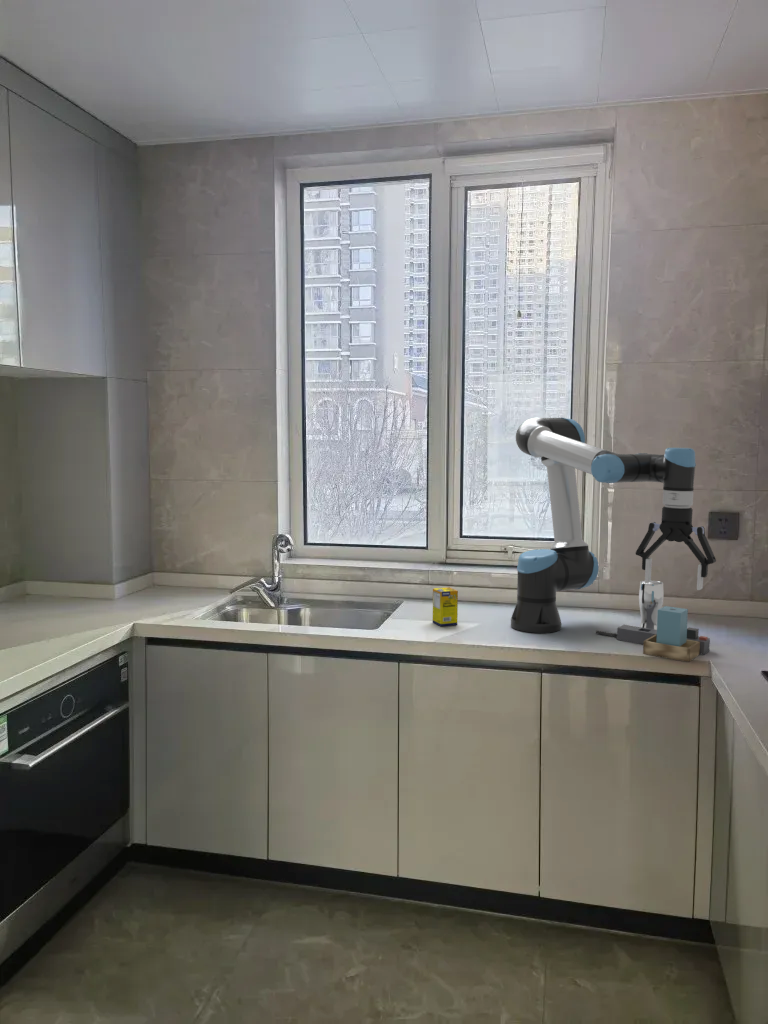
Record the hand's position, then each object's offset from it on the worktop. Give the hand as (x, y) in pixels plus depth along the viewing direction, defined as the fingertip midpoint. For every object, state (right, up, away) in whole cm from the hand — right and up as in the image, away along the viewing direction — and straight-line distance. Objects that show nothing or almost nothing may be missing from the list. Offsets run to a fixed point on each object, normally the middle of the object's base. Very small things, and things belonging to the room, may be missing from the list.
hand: (673, 585), depth 204 cm
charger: (0, -18, +1) cm, 18 cm away
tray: (0, -19, +2) cm, 19 cm away
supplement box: (-58, -15, +34) cm, 69 cm away
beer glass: (+3, -16, +26) cm, 31 cm away
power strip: (-2, -17, +13) cm, 22 cm away
